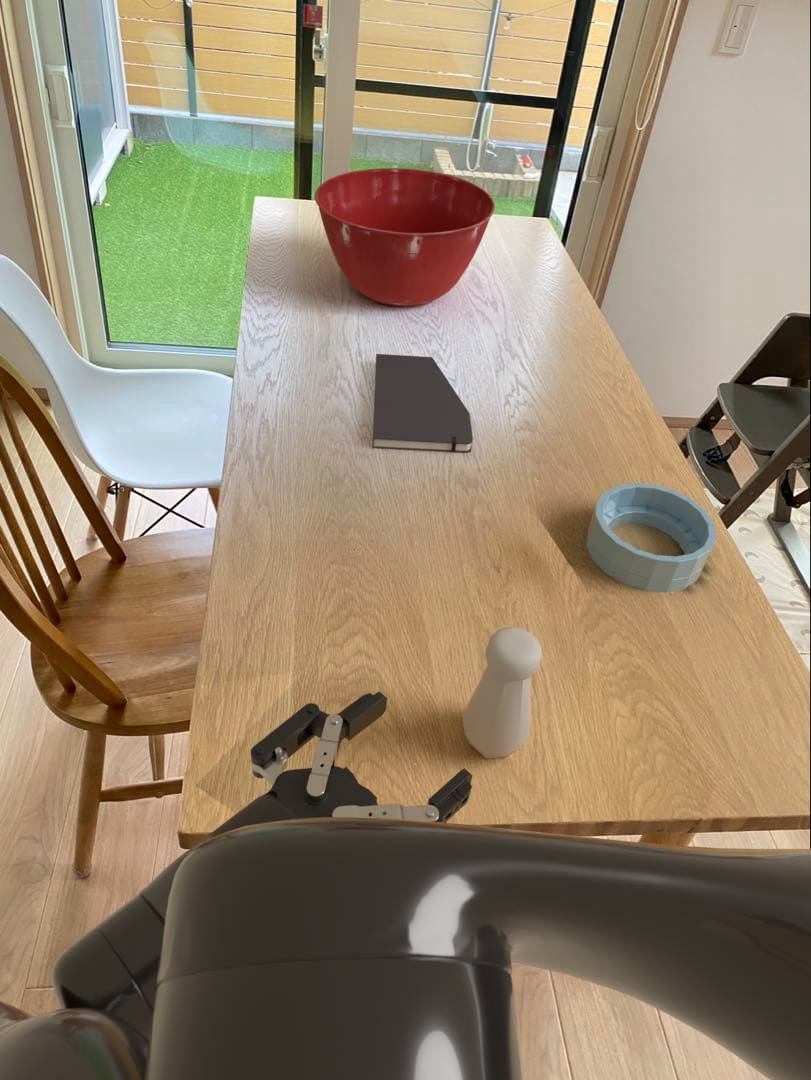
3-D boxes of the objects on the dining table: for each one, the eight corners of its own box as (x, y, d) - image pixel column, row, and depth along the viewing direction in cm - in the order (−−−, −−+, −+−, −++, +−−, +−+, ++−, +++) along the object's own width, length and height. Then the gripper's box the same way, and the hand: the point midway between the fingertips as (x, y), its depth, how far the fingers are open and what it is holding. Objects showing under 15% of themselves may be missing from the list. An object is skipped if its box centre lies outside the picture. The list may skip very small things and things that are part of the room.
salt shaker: (536, 732, 69) (567, 636, 61) (507, 780, 66) (535, 685, 57) (478, 700, 72) (500, 603, 63) (447, 745, 68) (465, 649, 59)
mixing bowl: (330, 333, 120) (331, 233, 110) (304, 257, 141) (302, 166, 130) (503, 325, 127) (519, 229, 116) (454, 252, 147) (464, 165, 136)
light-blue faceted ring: (721, 590, 85) (741, 549, 80) (617, 611, 81) (633, 570, 77) (659, 515, 93) (674, 475, 89) (563, 532, 90) (574, 491, 86)
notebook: (375, 363, 115) (372, 448, 99) (376, 353, 114) (372, 438, 98) (461, 368, 116) (471, 453, 100) (463, 358, 114) (473, 443, 99)
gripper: (312, 960, 41) (508, 775, 50) (164, 780, 48) (359, 646, 57) (313, 1008, 46) (490, 832, 55) (178, 838, 53) (356, 706, 62)
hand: (423, 737), depth 56 cm, fingers open, 8 cm apart
